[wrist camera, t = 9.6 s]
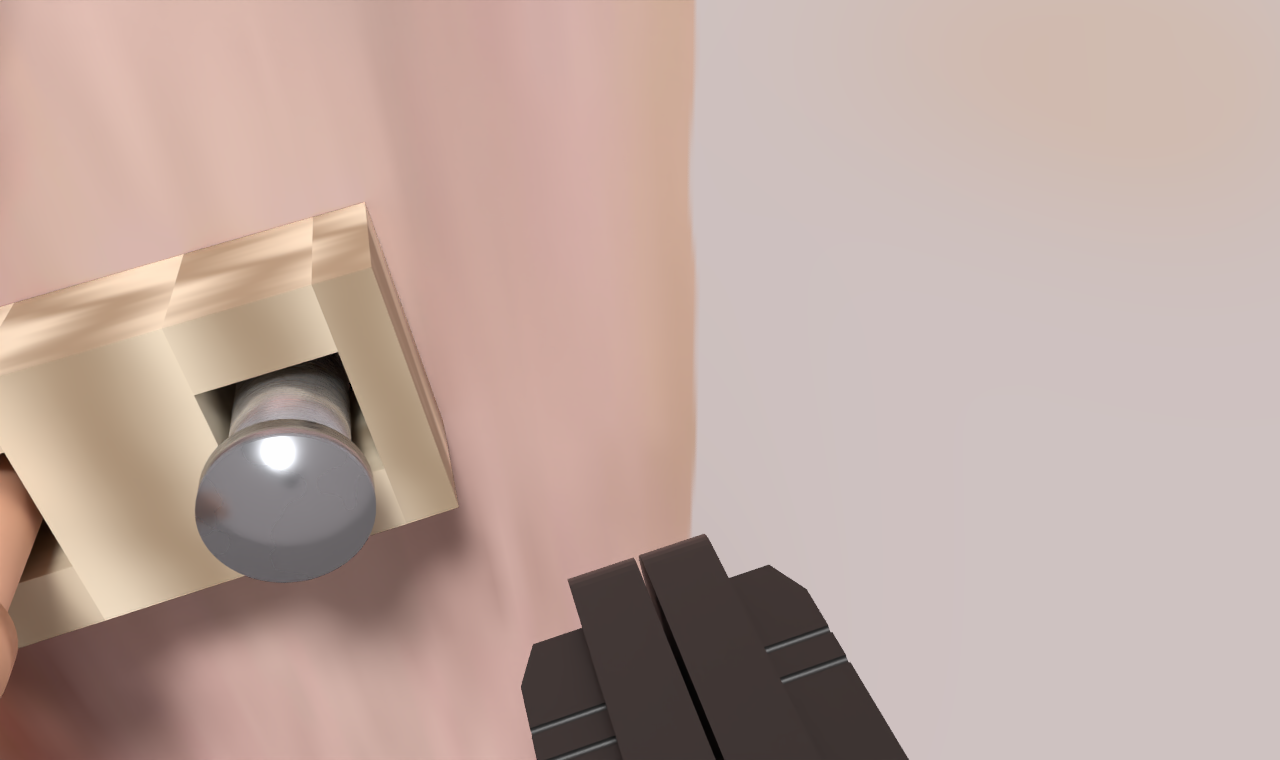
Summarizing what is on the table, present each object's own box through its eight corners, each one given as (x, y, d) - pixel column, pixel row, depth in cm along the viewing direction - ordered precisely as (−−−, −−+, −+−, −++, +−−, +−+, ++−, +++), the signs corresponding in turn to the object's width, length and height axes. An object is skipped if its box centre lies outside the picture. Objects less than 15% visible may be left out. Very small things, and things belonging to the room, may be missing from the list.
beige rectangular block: (-39, 570, 41) (-91, 683, 36) (-180, 358, 37) (-263, 453, 31) (442, 420, 43) (458, 507, 38) (364, 202, 38) (371, 267, 33)
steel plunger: (253, 431, 41) (235, 603, 32) (200, 316, 39) (165, 468, 30) (382, 392, 41) (398, 551, 33) (338, 275, 39) (342, 414, 30)
